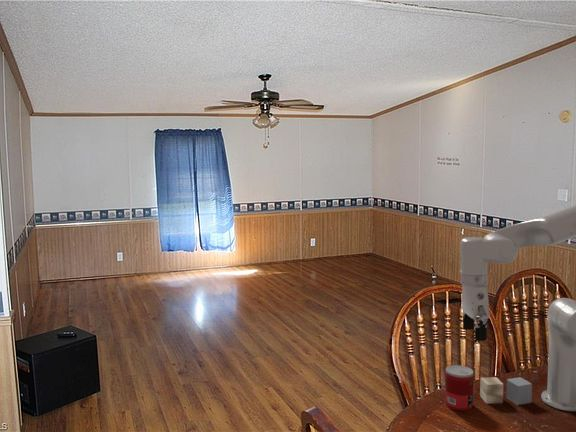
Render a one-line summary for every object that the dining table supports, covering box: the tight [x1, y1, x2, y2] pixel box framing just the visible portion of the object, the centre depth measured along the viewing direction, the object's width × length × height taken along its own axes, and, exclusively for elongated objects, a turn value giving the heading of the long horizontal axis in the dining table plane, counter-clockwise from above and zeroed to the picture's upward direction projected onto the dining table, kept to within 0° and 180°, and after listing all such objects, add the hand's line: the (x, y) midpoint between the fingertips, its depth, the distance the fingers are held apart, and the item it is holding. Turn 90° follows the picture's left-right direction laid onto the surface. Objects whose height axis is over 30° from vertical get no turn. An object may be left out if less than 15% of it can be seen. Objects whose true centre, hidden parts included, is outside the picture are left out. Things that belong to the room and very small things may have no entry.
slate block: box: [505, 376, 533, 406], centre depth 159 cm, size 5×5×6 cm
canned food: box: [444, 364, 475, 412], centre depth 157 cm, size 8×8×11 cm
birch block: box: [479, 376, 504, 405], centre depth 160 cm, size 5×5×6 cm
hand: (474, 334), depth 157 cm, fingers open, 9 cm apart
